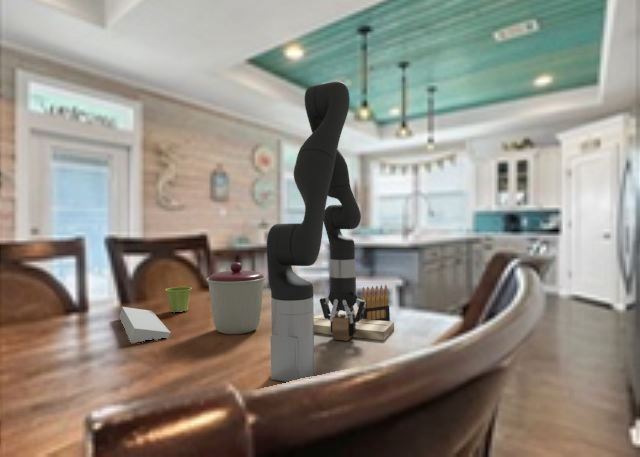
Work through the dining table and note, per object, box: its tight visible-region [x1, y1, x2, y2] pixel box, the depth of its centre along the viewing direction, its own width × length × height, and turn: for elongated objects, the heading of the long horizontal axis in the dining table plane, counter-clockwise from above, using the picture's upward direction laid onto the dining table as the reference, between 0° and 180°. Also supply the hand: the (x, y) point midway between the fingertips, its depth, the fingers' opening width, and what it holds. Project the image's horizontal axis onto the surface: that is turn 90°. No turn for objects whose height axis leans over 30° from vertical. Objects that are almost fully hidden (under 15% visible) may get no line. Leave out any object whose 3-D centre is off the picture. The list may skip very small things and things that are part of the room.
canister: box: [205, 262, 267, 335], centre depth 127 cm, size 18×18×21 cm
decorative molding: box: [119, 306, 171, 343], centre depth 131 cm, size 34×5×10 cm
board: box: [314, 314, 395, 341], centre depth 126 cm, size 28×12×2 cm, turn 66°
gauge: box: [332, 312, 357, 342], centre depth 120 cm, size 12×4×7 cm, turn 156°
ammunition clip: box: [360, 284, 391, 321], centre depth 135 cm, size 11×2×12 cm, turn 116°
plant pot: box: [164, 286, 193, 313], centre depth 154 cm, size 9×9×9 cm
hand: (343, 334), depth 117 cm, fingers closed on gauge, 4 cm apart
